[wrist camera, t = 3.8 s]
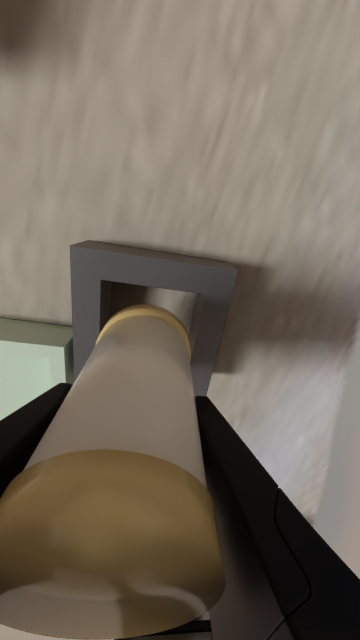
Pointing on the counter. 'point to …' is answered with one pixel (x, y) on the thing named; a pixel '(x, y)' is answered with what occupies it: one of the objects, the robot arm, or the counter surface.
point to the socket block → (155, 271)
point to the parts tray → (32, 361)
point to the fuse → (115, 497)
